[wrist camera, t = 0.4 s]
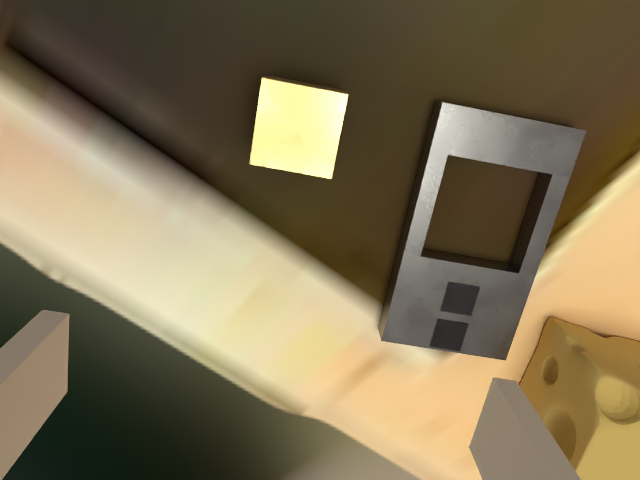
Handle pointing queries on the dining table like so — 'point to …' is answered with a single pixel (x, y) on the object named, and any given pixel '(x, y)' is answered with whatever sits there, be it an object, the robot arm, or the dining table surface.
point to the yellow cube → (297, 126)
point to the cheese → (588, 398)
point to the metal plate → (469, 272)
